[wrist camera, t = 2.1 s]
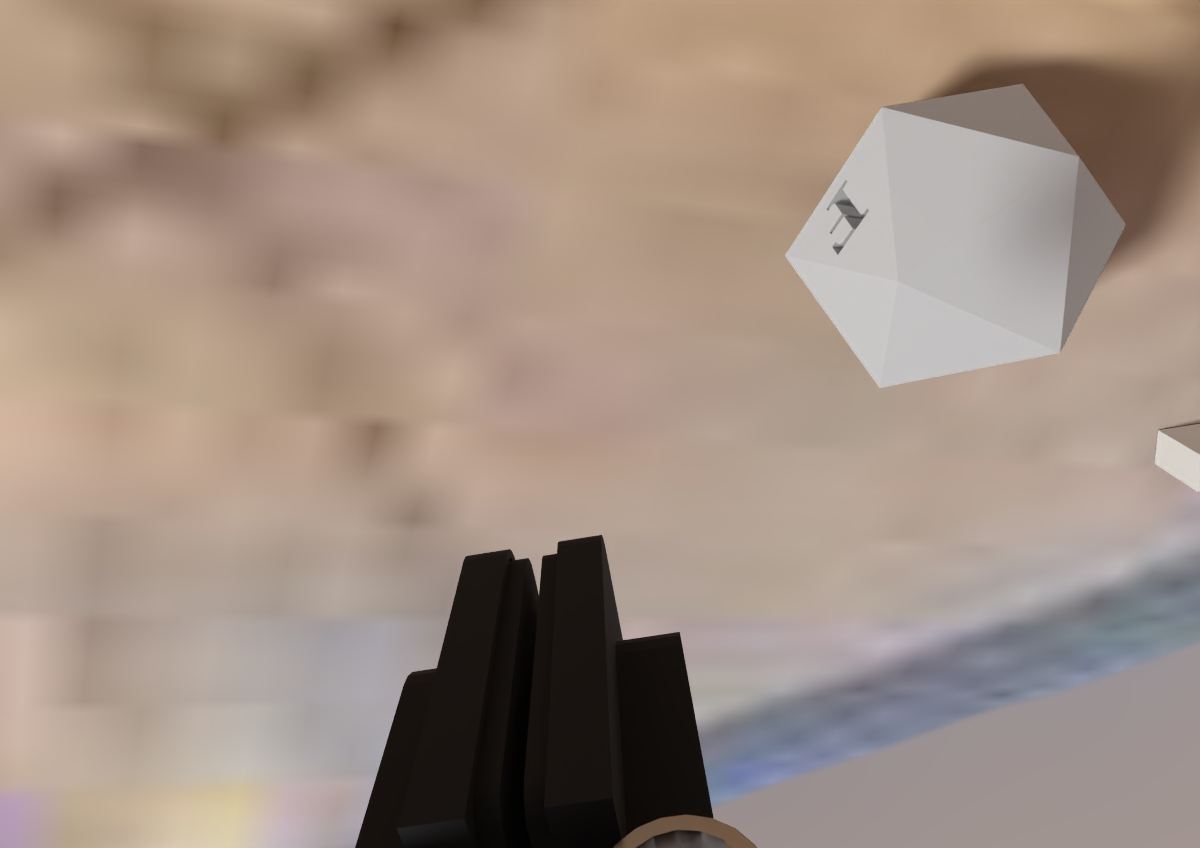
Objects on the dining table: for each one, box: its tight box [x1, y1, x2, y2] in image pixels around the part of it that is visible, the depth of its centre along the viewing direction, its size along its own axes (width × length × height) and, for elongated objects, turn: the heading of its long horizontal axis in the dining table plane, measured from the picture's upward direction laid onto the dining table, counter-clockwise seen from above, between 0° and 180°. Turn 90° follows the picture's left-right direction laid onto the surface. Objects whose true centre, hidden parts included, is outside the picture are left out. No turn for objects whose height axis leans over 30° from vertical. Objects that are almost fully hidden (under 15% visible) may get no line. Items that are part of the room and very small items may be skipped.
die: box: [785, 84, 1126, 388], centre depth 25 cm, size 8×9×10 cm
